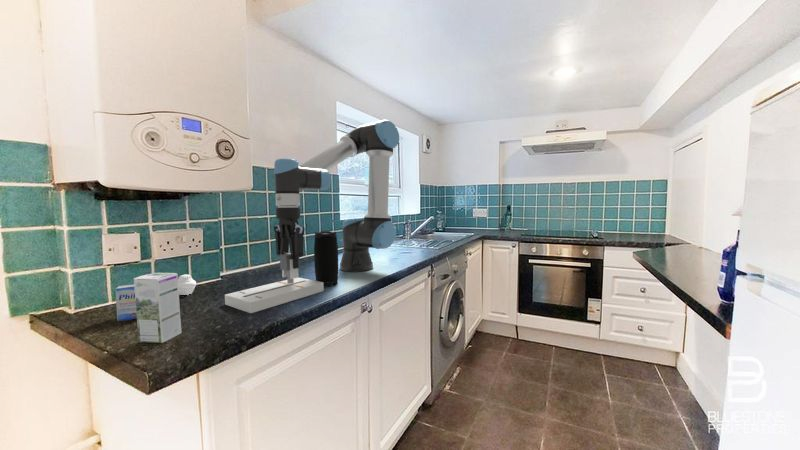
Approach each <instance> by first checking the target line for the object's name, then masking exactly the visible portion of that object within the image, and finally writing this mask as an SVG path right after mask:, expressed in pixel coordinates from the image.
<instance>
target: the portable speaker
mask: <svg viewBox="0 0 800 450" xmlns="http://www.w3.org/2000/svg"><path fill="white" fill-rule="evenodd" d="M313 256H314V259H313V260H314V275H315V281H319V282H323V286H324V288H326V287H331V286H332V285H333V284H338V283H339V281H338V279H339V246H338V237H337V231H333V232H332V231H330V230H329V231H328V230H322V231H319V232H314V245H313Z"/></svg>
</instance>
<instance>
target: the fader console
mask: <svg viewBox="0 0 800 450" xmlns="http://www.w3.org/2000/svg"><path fill="white" fill-rule="evenodd" d="M324 291H325V287H324V286H323V282H319V281H316V280H313V279H307V278H303V277H298V278H294V283H291V284H289V283H287V279H285V280H281V281H280V280H279V281H276V282H273V283H272V282H271V283H268V284H263V285H259V286H256V287H255V286H254V287H251V288H246V289H242V290H239V291H234V292H230V293H226V294H224V304H225V306H229V307H232V308H234V309H236V310H240V311H243V312H246V313H249V314H253V313H257V312H260V311H264V310H266V309H271V308H274V307H276V306H279V305H282V304H283V305H284V304H286V303H289V302H292V301H295V300H299V299H302V298H305V297H308V296H309V297H310V296H312V295H315V294H318V293H321V292H324Z"/></svg>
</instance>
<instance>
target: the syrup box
mask: <svg viewBox="0 0 800 450" xmlns="http://www.w3.org/2000/svg"><path fill="white" fill-rule="evenodd" d="M178 278H179V276H178V273H177V272H152V273H146V274H144V275H139V276H137V277H134V278H133V284H134V289H135V301H136V314H137V318H136V322H137V334H138V335H137V338H138V339H137V340H138V343H149V344H154V343H155V344H163V343H165V342H167V341H170V340H172V339H174V338H175V337H176V336H179V335H180V334H181V335H182V321H181V308H180V295H179V290H178Z"/></svg>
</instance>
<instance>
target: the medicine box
mask: <svg viewBox="0 0 800 450" xmlns="http://www.w3.org/2000/svg"><path fill="white" fill-rule="evenodd" d="M114 290H115V299H116V300H115V305H116V319H117V320H116V321H117V322H122V321H123V322H124V321H129V320H137V314H136V301H135V289H134V283H133V284H126V285H125V284H123V285H119V286H117V287H116V288H115V289H114Z"/></svg>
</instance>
